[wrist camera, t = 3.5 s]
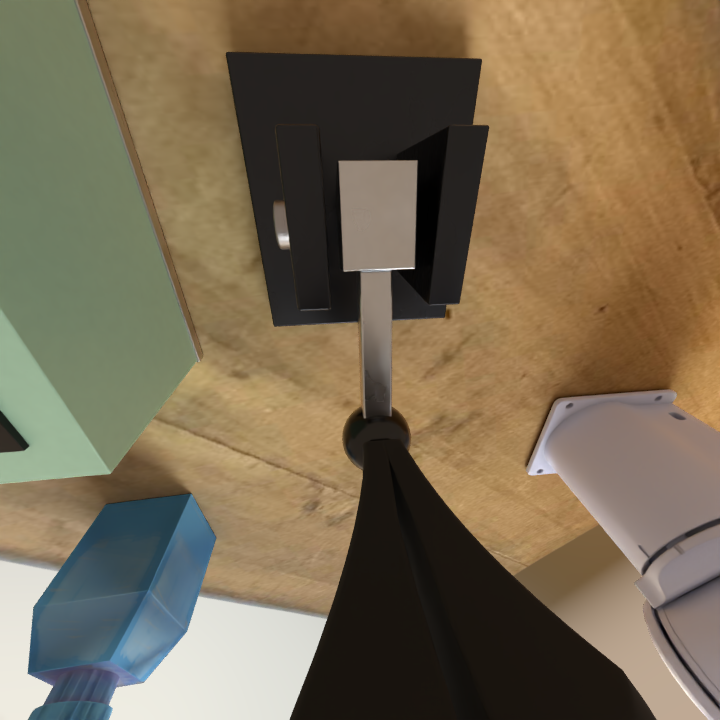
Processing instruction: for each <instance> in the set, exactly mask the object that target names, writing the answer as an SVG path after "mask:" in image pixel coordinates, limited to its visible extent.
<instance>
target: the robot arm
mask: <svg viewBox="0 0 720 720" xmlns="http://www.w3.org/2000/svg"><path fill="white" fill-rule="evenodd" d="M676 396H677V393H676V392H675V391H673V390H671V389H667V390H654V391H642V392H629V393H616V394H604V395H591V396H579V397H566V398H559V399H557V400H556V401H555V402H554V403H553V406H552V408H551V411H550V413H549V415H548V418H547V420H546V423H545V425H544V427H543V430H542V432H541V435H540V437H539V439H538V442H537V444H536V447H535V449H534V451H533V454H532V456H531V459H530V461H529V463H528V466H527V468H526V471H527V473H528V474H529V475H541V474H551V473H557V474H558V475H559V476H560V477H561V478H562V480H563V481H564V482H565V483H566V484H567V486H568V487H569V488H570V489H571V490H572V492H573V493H574V494H575V495H576V496H577V498H578V499H579V500H580V501H581V502H582V504H583V505H584V506H585V507H586V508H587V510H588V511H589V512H590V513H591V514H592V516H593V517H594V518H595V519H596V520H597V522H598V523H599V524H600V525H601V527H602V528H603V529H604V530H605V531H606V532H607V534H608V535H609V536H610V537H611V538H612V540H613V541H614V542H615V543H616V545H617V546H618V547H619V548H620V549H621V550H622V552H623V553H624V554H625V555H626V557H627V558H628V559H629V560H630V561H631V563H632V564H633V565H634V566H635V567H636V569H637V570H638V571H639V572H640V574H642V577H641V578H640V579H638V580H637V581H635V582H634V584H635V585H636V587H637V588H638V589H639V590H640V592H641V593H642V594H643V595H644V597H645V598H646V601H645V602H644V604H643V612H644V617H645V621H646V624H647V627H648V630H649V634H650V636H651V638H652V641H653V643H654V645H655V647H656V649H657V651H658V653H659V655H660V657H661V658H662V660H663V662H664V663H665V665H666V666H667V668H668V669H669V671H670V672H671V674H672V675H673V677H674V678H675V680H676V681H677V682H678V684H679V685H680V686H681V688H682V689H683V690H684V692H685V693H686V694H687V695H688V697H689V698H690V699H691V700H692V701H693V703H694V704H695V705H696V706H697V707H698V709H699V710H700V711H701V712H702V713H703V714H704V715H705V716H706V717H707V719H708V720H720V432H719V431H717V430H715V429H714V428H712V427H710V426H709V425H707V424H705V423H704V422H702V421H700V420H699V419H697V418H695V417H694V416H692V415H690V414H689V413H687V412H685V411H684V410H682V409H681V408H679V407H677V406H676V405H674V404H672V402H673V401H674V399H675V398H676ZM290 720H656V718H655V717H654V715H653V713H652V712H651V710H650V708H649V707H648V706H647V704H646V702H645V701H644V700H643V698H642V697H641V695H640V694H639V692H638V691H637V690H636V688H635V687H634V686H633V684H632V683H631V681H630V680H629V679H628V677H627V676H626V674H625V673H624V671H623V670H622V669H620V668H619V667H618V666H617V665H616V664H614V663H613V662H612V661H611V660H609V659H608V658H607V657H606V656H604V655H603V654H602V653H601V652H599V651H598V650H597V649H596V648H595V647H593V646H592V645H591V644H590V643H588V642H587V641H586V640H585V639H584V638H582V637H581V636H580V635H579V634H578V633H576V632H575V631H574V630H573V629H571V628H570V627H569V626H568V625H567V624H566V623H564V622H563V621H562V620H561V619H560V618H559V617H558V616H556V615H555V614H554V613H553V612H552V611H551V610H549V609H548V608H547V607H546V606H545V605H544V604H543V603H542V602H540V601H539V600H538V599H537V598H536V597H535V596H534V595H533V594H532V593H531V592H530V591H529V590H527V589H526V588H525V587H524V586H523V585H522V584H521V583H520V582H519V581H518V580H517V579H516V578H515V577H514V576H513V575H511V574H510V573H509V572H508V571H507V570H506V569H505V568H504V567H503V566H502V565H501V564H500V563H499V562H498V561H497V560H496V559H495V558H494V557H493V556H492V555H491V554H490V553H489V552H488V551H487V550H486V549H485V548H484V547H483V546H482V545H481V544H480V542H479V541H478V540H477V539H476V538H475V537H474V536H473V535H472V534H471V533H470V532H469V531H468V529H467V528H466V527H465V526H464V525H463V524H462V523H461V521H460V520H459V519H458V518H457V517H456V516H455V514H454V513H453V512H452V511H451V510H450V508H449V507H448V506H447V505H446V504H445V502H444V501H443V500H442V498H441V497H440V496H439V495H438V493H437V492H436V491H435V489H434V488H433V487H432V485H431V484H430V483H429V481H428V480H427V479H426V477H425V476H424V474H423V473H422V472H421V470H420V469H419V467H418V466H417V464H416V463H415V461H414V460H413V458H412V457H411V455H410V453H409V452H408V450H407V449H406V447H405V445H404V443H403V442H402V440H400V439H391V440H380V441H369V442H365V443H364V444H363V480H362V487H361V495H360V501H359V506H358V511H357V516H356V521H355V526H354V530H353V534H352V538H351V542H350V546H349V550H348V554H347V558H346V561H345V565H344V568H343V571H342V575H341V578H340V581H339V585H338V588H337V591H336V594H335V598H334V601H333V604H332V607H331V610H330V613H329V615H328V618H327V621H326V624H325V627H324V630H323V633H322V636H321V639H320V641H319V644H318V647H317V650H316V653H315V655H314V658H313V661H312V663H311V666H310V668H309V671H308V674H307V676H306V679H305V681H304V684H303V686H302V689H301V691H300V694H299V697H298V699H297V702H296V704H295V707H294V710H293V712H292V715H291V717H290Z"/></svg>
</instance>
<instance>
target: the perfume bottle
mask: <svg viewBox="0 0 720 720" xmlns="http://www.w3.org/2000/svg"><path fill="white" fill-rule="evenodd" d="M215 541H216V537H215V535H214V533H213V531H212V530H211V528H210V526H209V524H208V522H207V521H206V519H205V517H204V515H203V514H202V512H201V510H200V508H199V506H198V505H197V503H196V501H195V499H194V498H193V496H192V494H185V495H177V496H169V497H161V498H153V499H145V500H137V501H129V502H121V503H113V504H106V505H105V506H104V508H103V509H102V511H101V512H100V513H99V515H98V516H97V518H96V519H95V521H94V522H93V523H92V525H91V526H90V528H89V529H88V530H87V532H86V533H85V535H84V536H83V538H82V539H81V540H80V542H79V543H78V545H77V546H76V548H75V549H74V550H73V552H72V553H71V555H70V556H69V558H68V559H67V560H66V562H65V563H64V565H63V566H62V567H61V569H60V570H59V572H58V573H57V575H56V576H55V577H54V579H53V580H52V582H51V583H50V585H49V586H48V588H47V589H46V590H45V592H44V593H43V595H42V596H41V597H40V599H39V600H38V602H37V603H36V604H35V606H34V607H33V608H34V609H33V619H32V631H31V643H30V653H29V665H28V674H30V675H32V676H34V677H36V678H38V679H40V680H42V681H44V682H47V683H48V684H50V685H53V688H52V690H51V692H50V694H49V695H48V697H47V699H46V701H45V703H44V705H43V706H40V707H38V708H36V709H35V710H34V711H33V712H32V713H31V715H30V717H29V719H28V720H109V718H110V715H111V712H112V708H111V707H110V706H109V703H110V700H111V698H112V695H113V693H114V691H115V689H116V687H122V686H127V685H133V684H140V683H144V682H145V680H146V679H147V678H148V677H149V676H150V674H151V673H152V672H153V671H154V669H156V667H157V666H158V665H159V664H160V663H161V661H162V660H163V659H164V658H165V657H166V656H167V654H168V653H169V652H170V651H171V650H172V649H173V647H174V646H175V645H176V644H177V643H178V641H179V640H180V639H181V638H182V637H183V635H184V634H185V633H186V632H187V630H188V626H189V623H190V620H191V617H192V614H193V611H194V607H195V604H196V601H197V598H198V595H199V592H200V588H201V585H202V582H203V579H204V576H205V572H206V569H207V566H208V563H209V560H210V557H211V553H212V550H213V547H214V544H215Z"/></svg>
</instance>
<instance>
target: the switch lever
mask: <svg viewBox="0 0 720 720" xmlns="http://www.w3.org/2000/svg"><path fill="white" fill-rule="evenodd" d="M418 164H419V162H418V161H417V160H359V161H338V162H337V172H336V184H335V186H336V205H337V224H338V243H339V262H340V269H341V270H342V271H344V272H346V271H357V301H358V330H359V359H360V388H361V407H359V408H358V409H356V410H355V411H354V412H353V413H352V414H351V415H350V416H349V418H348V419H347V421H346V423H345V426H344V429H343V435H342V441H343V447H344V450H345V453H346V455H347V456H348V458H349V459H350V461H351V462H352V463H353V464H354V465H355V466H356V467H358V468H359V469H361V470H363V444H364V443H365V442H369V441H380V440H391V439H400V440H402V442H403V443H404V445H405V447H406V449H407V450H408V451H409V448H410V443H411V434H410V429H409V426H408V423H407V422H406V420H405V418H404V417H403V416H402V414H401V413H400V412H399V411H397V410H396V409H395V408H393V407H392V270H400V269H415V264H416V231H417V198H418Z"/></svg>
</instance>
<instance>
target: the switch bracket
mask: <svg viewBox="0 0 720 720" xmlns="http://www.w3.org/2000/svg"><path fill="white" fill-rule="evenodd" d="M226 59H227V64H228V70H229V76H230V81H231V87H232V93H233V98H234V104H235V110H236V115H237V121H238V127H239V132H240V138H241V144H242V149H243V155H244V161H245V166H246V172H247V178H248V183H249V189H250V195H251V200H252V206H253V212H254V217H255V223H256V229H257V234H258V240H259V245H260V251H261V257H262V262H263V268H264V274H265V279H266V285H267V291H268V296H269V302H270V308H271V313H272V319H273V325H274V326H275V327H276V326H295V325H315V324H334V323H353V322H358V301H357V271H346V272H344V271H342V270H341V269H340V262H339V243H338V224H337V205H336V186H335V184H336V172H337V162H338V161H359V160H417V161H418V162H419V164H418V198H417V231H416V264H415V269H400V270H392V320H410V319H430V318H444V317H445V311H446V305H449V304H459V303H460V297H461V291H462V285H463V279H464V273H465V267H466V261H467V255H468V249H469V243H470V237H471V232H472V226H473V220H474V214H475V208H476V202H477V196H478V190H479V184H480V178H481V172H482V166H483V160H484V154H485V149H486V143H487V137H488V131H489V126H488V125H473V119H474V112H475V105H476V98H477V91H478V84H479V78H480V71H481V64H482V59H476V58H439V57H402V56H365V55H328V54H291V53H254V52H226Z"/></svg>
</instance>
